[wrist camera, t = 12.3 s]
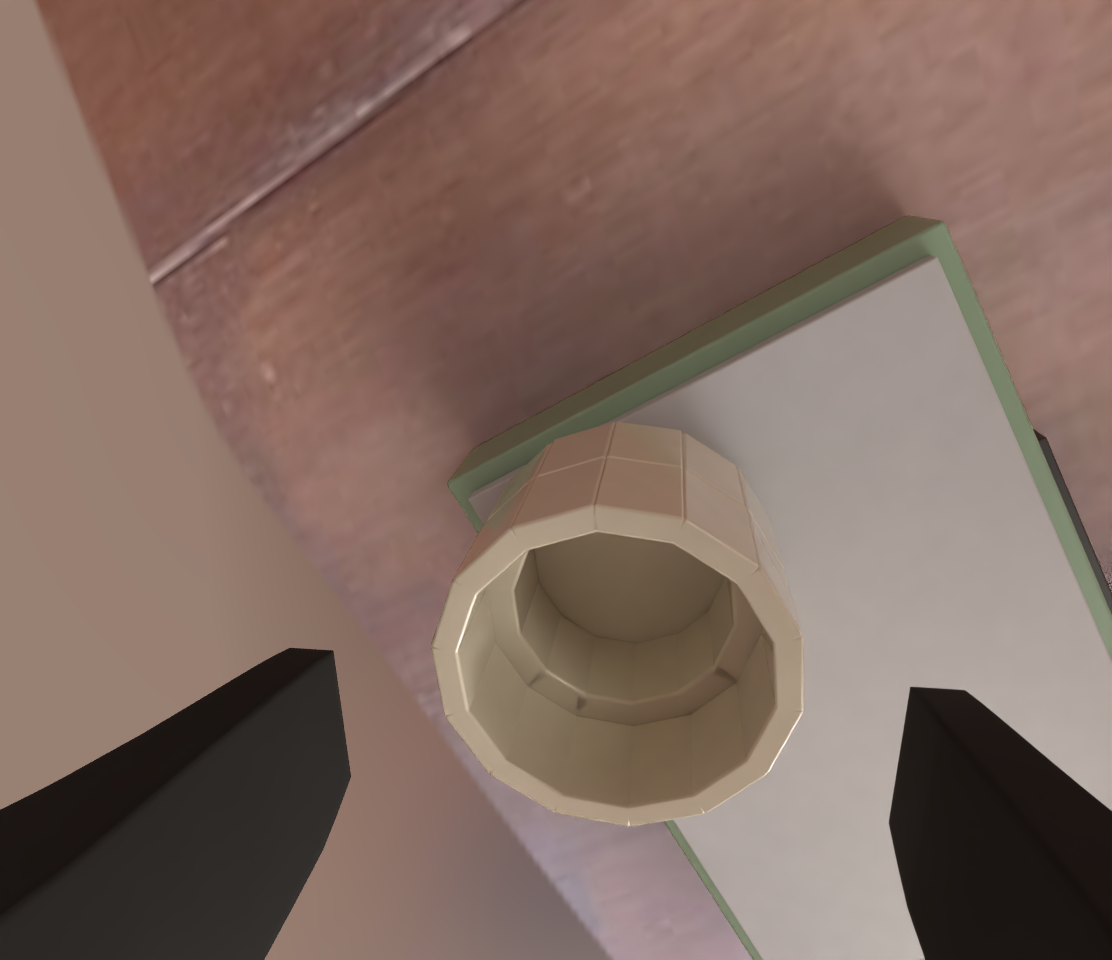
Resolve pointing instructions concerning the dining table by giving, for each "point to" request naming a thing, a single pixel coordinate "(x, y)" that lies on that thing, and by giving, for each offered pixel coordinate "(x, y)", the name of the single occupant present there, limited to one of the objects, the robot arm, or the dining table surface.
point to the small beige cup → (623, 631)
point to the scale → (868, 564)
